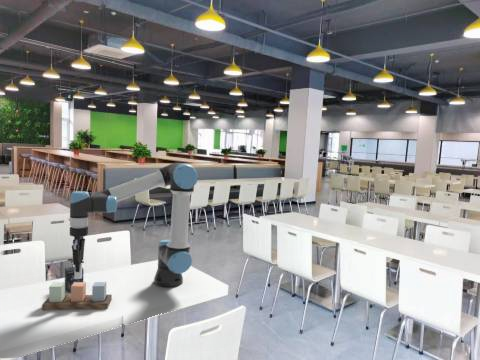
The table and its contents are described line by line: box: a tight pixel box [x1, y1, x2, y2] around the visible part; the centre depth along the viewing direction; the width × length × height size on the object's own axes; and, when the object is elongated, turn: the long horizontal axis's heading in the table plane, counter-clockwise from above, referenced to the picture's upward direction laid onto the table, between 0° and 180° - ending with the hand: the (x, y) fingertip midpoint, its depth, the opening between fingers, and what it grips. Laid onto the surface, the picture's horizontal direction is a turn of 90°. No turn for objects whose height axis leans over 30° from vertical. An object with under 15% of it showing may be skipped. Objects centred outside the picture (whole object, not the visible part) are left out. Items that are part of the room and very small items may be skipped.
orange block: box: [70, 281, 87, 302], centre depth 168 cm, size 5×5×7 cm
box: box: [64, 266, 85, 293], centre depth 186 cm, size 8×6×11 cm
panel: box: [41, 294, 113, 311], centre depth 168 cm, size 27×10×2 cm, turn 99°
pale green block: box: [48, 281, 66, 303], centre depth 166 cm, size 5×5×7 cm
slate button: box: [91, 281, 107, 301], centre depth 169 cm, size 5×5×7 cm
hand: (78, 278), depth 167 cm, fingers closed
